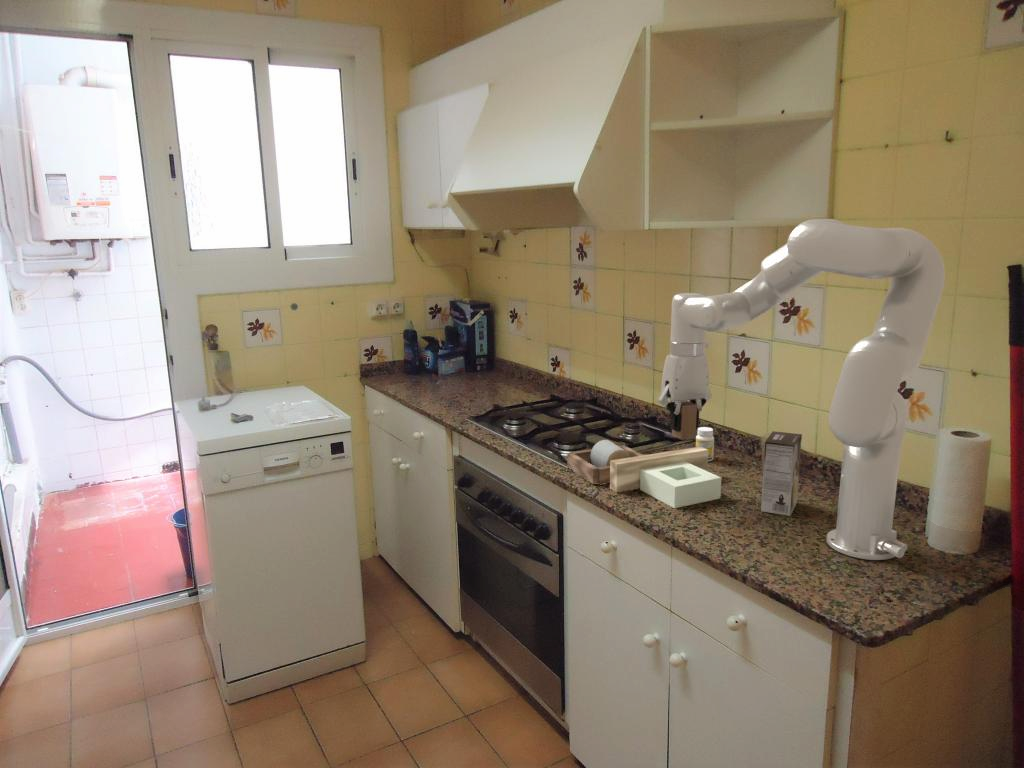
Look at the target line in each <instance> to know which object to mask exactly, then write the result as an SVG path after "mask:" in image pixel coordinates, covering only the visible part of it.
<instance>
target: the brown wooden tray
mask: <svg viewBox="0 0 1024 768" xmlns="http://www.w3.org/2000/svg"><path fill="white" fill-rule="evenodd" d="M616 445H617V444H616ZM617 446H619V447H620V448H622V449H623V450H625V451H626V452H627V454H628V455H629V458H630V457H637V456H643V455H644V454H642V453H640V452H638V451H636V450H634V449H632V448H630V447H628V446H627V445H624V444H623V445H617ZM591 451H592V448H591V449H584V450H577V451H572V452H570V453H567V455H566V456H567V458H566V459H567V460H566V461H567V462H566V463H567V464H566V466H569V467H570V468H571V469H572V470H573V471H575V472H577V473H578V474H579V475H581V476H582V477H584V478H585V479H587V480H588V481H590V482H591V483H593V484H594V483H599V484H603V483H610V466H604V467H598V468H597V467H595V466H594V465H592V464H590V463H592V462H591ZM588 462H589V463H588ZM599 484H598V485H599Z"/></svg>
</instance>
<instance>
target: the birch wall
mask: <svg viewBox="0 0 1024 768" xmlns="http://www.w3.org/2000/svg"><path fill="white" fill-rule="evenodd" d="M642 455H643V456H637V457H630V458H624V459H618V460H611V461H610V484H609V489H610V490H611V489H612V490H611V491H613V492H614V491H615V493H616V494H617V492H618V493H622V492H623V491H624V492H629V491H634V489H635V490H640V489H639V488H640V470H641V469H646V468H651V467H657V466H662V465H668V464H673V463H679V462H684V461H685V462H687V463H690V464H692V465H694V466H696V467H699V468H701V469H703V470H705V471H708V465H709V463H708V449H705V448H703V447H696V446H695V447H688V448H683V449H676V450H669V451H665V452H664V451H663V452H657V453H651V454H642ZM628 490H629V491H628Z"/></svg>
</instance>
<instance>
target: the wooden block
mask: <svg viewBox="0 0 1024 768" xmlns="http://www.w3.org/2000/svg"><path fill="white" fill-rule="evenodd" d="M674 407H675V405H674ZM679 414H681V430H680V432H677V431H675V430H672V429H671V436H672V437H674V438H677V439H678V440H689V439H696V436H697V429H696V415H697V405H696V404H694V403H692V402H690V401H689V400H686V401H682V402H681V407H680V412H679Z"/></svg>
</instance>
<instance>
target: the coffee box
mask: <svg viewBox="0 0 1024 768" xmlns="http://www.w3.org/2000/svg"><path fill="white" fill-rule="evenodd" d="M802 437H803V434H802V433H793V432H792V433H791V432H783V431H774V430H773V431H771V433H770V434H769V436H768V437H767V438H766V440H765V442H764V455H763V470H762V472H763V473H762V486H761V490H762V491H761V504H760V506H761V507H760V511H761V512H764V513H771V514H776V515H781V516H789V517H791V516H792V513H793V511H794V510H795V508H796V505H797V502H798V495H799V494H798V493H799V480H800V466H801V465H800V464H801V451H802V440H803V439H802Z"/></svg>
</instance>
